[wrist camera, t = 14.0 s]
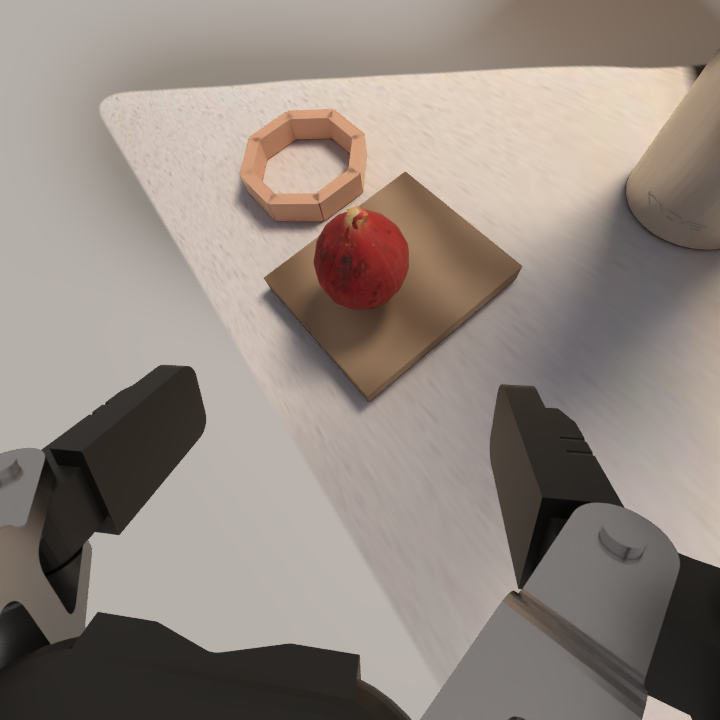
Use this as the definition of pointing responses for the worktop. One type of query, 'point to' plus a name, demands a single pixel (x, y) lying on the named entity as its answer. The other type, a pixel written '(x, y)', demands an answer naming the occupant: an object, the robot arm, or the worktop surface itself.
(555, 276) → the worktop surface
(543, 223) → the worktop surface
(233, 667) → the robot arm
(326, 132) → the ring holder
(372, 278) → the onion
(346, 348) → the walnut board
